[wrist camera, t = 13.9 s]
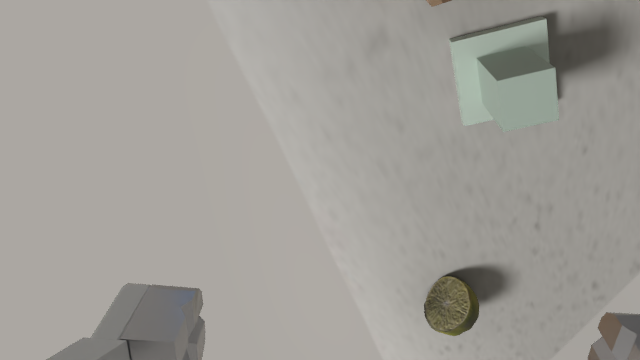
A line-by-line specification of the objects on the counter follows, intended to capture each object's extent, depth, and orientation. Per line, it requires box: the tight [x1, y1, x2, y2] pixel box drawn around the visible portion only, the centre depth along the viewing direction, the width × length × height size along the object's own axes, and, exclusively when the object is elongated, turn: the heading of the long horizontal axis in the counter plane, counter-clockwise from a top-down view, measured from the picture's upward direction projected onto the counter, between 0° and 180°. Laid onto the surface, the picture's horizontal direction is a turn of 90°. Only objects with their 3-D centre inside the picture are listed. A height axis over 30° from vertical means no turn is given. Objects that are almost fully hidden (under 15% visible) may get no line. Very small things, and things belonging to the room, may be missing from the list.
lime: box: [424, 276, 479, 336], centre depth 46 cm, size 4×5×5 cm
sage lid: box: [449, 16, 559, 132], centre depth 36 cm, size 7×7×7 cm
